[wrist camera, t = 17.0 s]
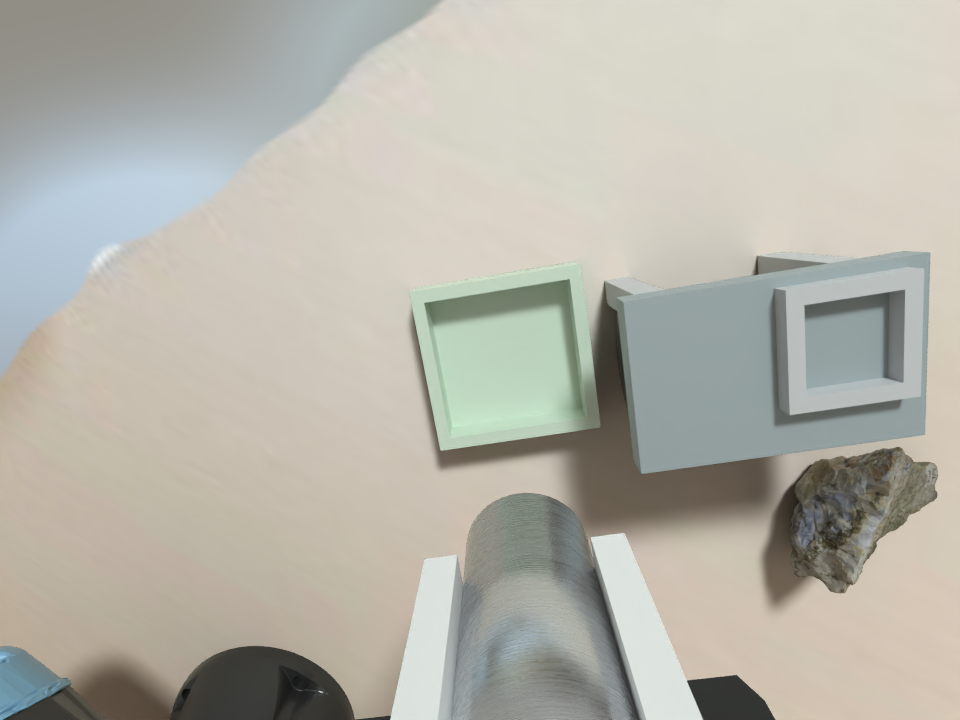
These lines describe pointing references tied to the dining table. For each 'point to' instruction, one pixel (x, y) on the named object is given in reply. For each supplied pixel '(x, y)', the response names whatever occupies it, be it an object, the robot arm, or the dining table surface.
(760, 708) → the robot arm
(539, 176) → the dining table surface
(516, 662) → the pin
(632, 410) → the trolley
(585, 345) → the tray
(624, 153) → the dining table surface
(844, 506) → the rock
